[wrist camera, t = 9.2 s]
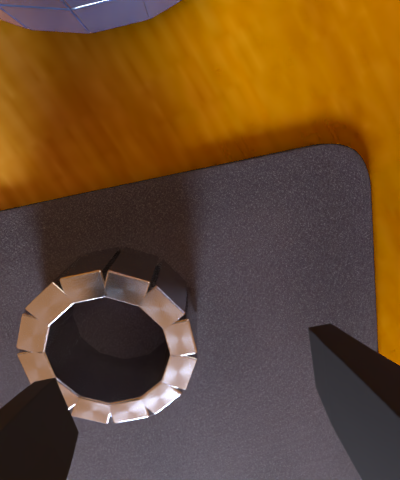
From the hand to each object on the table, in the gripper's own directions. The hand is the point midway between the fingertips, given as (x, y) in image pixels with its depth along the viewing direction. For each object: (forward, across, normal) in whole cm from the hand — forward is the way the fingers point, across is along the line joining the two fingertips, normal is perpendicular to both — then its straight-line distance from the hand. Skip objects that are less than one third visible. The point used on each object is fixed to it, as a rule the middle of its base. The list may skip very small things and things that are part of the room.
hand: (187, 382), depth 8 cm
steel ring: (+5, +3, 0) cm, 6 cm away
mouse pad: (+5, +3, +7) cm, 9 cm away
